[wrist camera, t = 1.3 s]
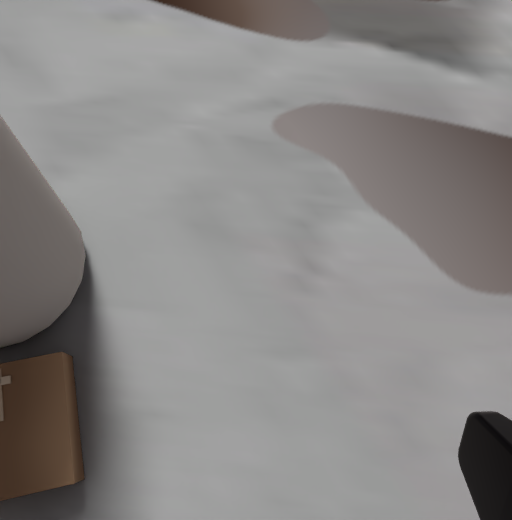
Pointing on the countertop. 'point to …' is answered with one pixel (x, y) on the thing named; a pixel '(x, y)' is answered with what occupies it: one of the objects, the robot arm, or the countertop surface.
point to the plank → (38, 426)
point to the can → (33, 246)
